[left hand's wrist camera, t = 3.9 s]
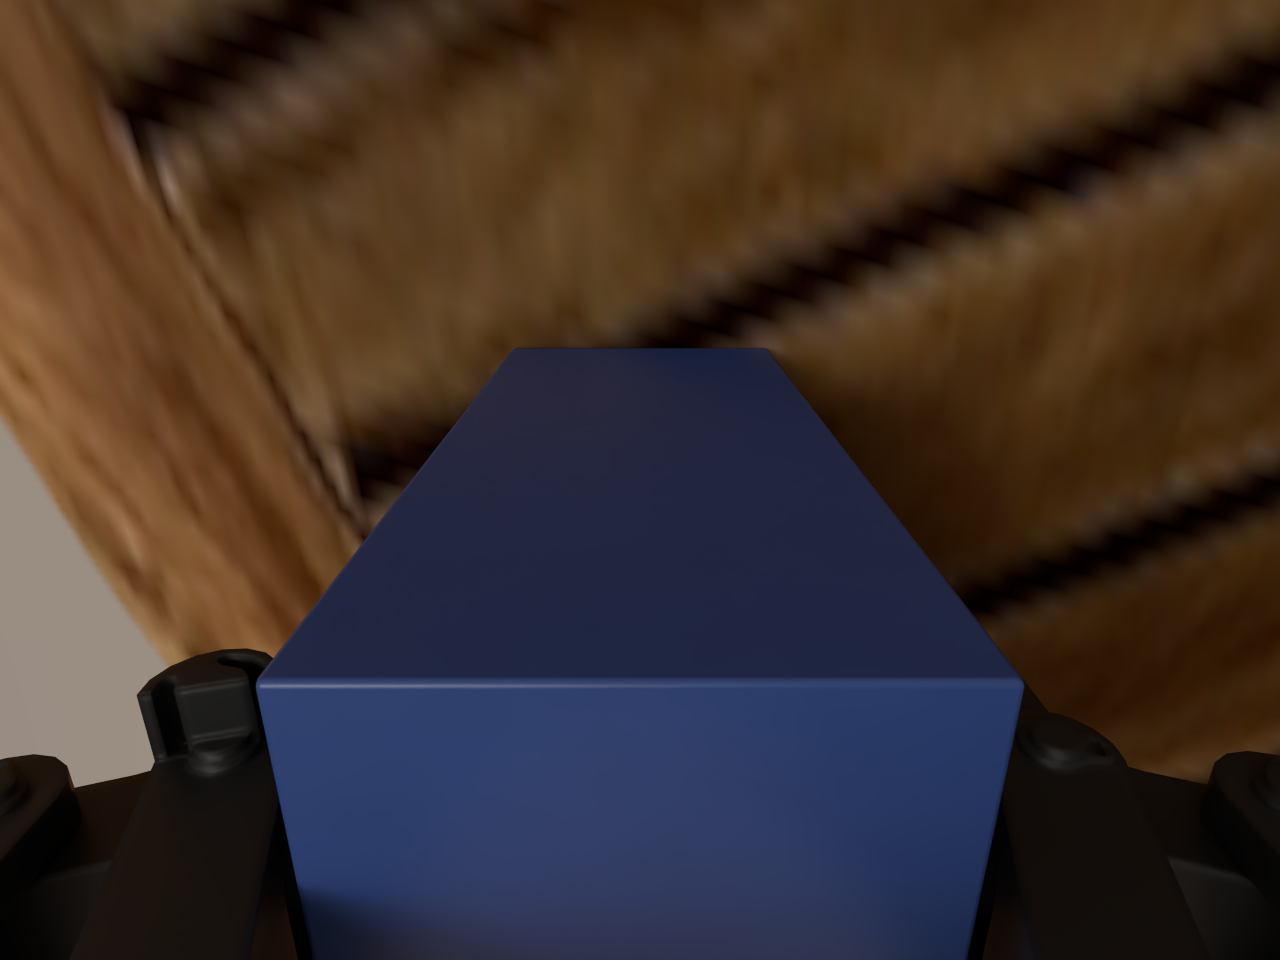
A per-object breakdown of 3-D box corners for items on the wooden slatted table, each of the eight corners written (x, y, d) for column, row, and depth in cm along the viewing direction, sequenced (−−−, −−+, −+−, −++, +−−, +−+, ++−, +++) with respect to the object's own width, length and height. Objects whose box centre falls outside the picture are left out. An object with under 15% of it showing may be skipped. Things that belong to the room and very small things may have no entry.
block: (527, 597, 19) (361, 1204, 8) (512, 347, 17) (249, 681, 5) (752, 597, 19) (918, 1204, 8) (767, 347, 17) (1030, 681, 5)
